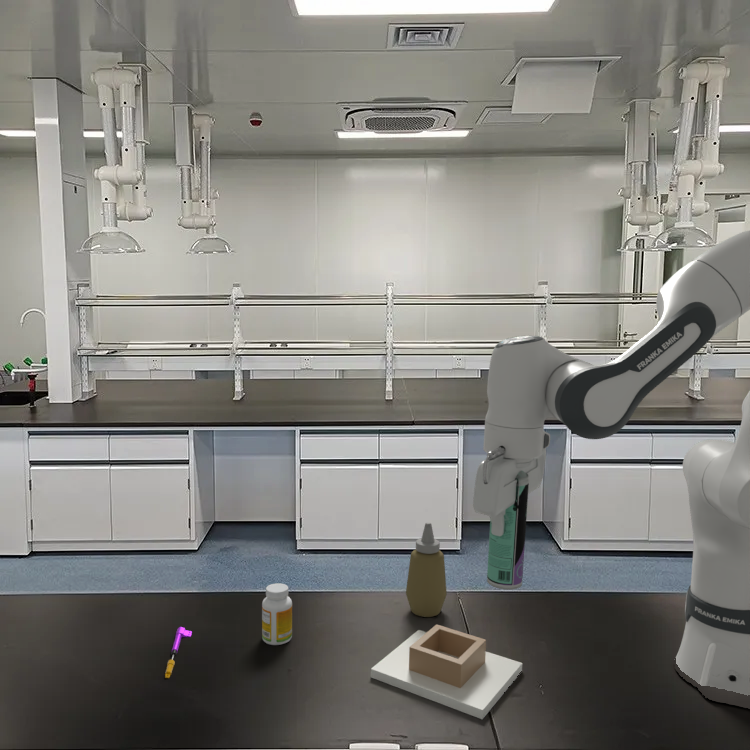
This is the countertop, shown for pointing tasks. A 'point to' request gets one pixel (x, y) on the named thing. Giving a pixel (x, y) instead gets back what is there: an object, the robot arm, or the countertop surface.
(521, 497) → the spray can
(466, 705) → the socket board
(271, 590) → the supplement bottle
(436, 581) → the squeeze bottle
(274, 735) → the countertop surface
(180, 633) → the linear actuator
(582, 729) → the countertop surface
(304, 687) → the countertop surface
